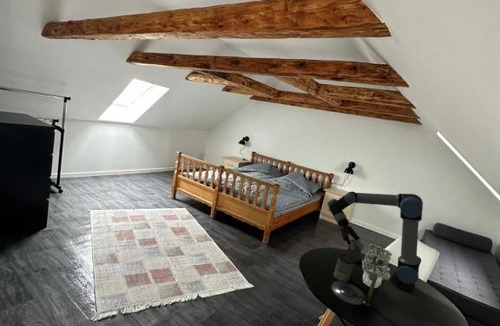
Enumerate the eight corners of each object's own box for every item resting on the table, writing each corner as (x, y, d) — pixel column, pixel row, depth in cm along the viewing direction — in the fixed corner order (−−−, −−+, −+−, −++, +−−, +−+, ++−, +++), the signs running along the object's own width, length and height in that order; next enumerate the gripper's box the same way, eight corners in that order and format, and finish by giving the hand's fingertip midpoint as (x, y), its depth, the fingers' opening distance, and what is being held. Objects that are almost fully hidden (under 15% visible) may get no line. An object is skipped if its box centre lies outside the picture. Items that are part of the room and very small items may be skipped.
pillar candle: (343, 254, 218) (348, 237, 214) (354, 255, 219) (360, 238, 216) (348, 261, 209) (354, 243, 205) (360, 263, 210) (366, 245, 206)
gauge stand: (368, 301, 166) (378, 273, 162) (371, 307, 162) (381, 278, 158) (360, 300, 166) (370, 271, 162) (363, 305, 162) (372, 276, 158)
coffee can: (331, 270, 192) (337, 252, 189) (346, 274, 191) (352, 255, 188) (334, 279, 182) (340, 260, 179) (350, 283, 181) (356, 264, 178)
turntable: (358, 285, 181) (358, 284, 181) (370, 307, 161) (370, 306, 161) (328, 279, 181) (328, 278, 181) (336, 300, 161) (336, 299, 161)
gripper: (345, 223, 204) (361, 251, 193) (328, 221, 187) (344, 252, 176) (354, 218, 201) (370, 246, 189) (337, 216, 184) (354, 246, 172)
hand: (357, 249), depth 182 cm, fingers open, 13 cm apart
